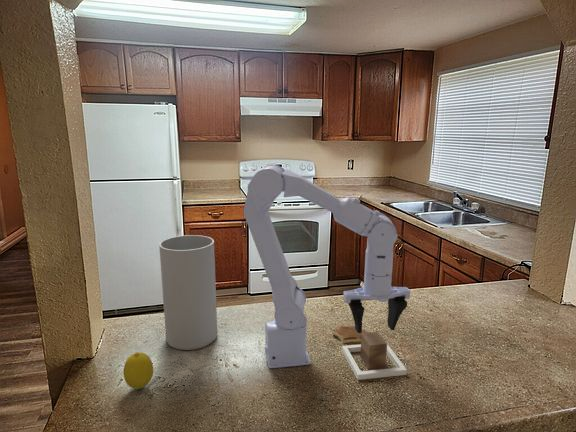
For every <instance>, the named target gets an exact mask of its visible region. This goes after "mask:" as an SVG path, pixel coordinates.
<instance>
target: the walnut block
mask: <svg viewBox="0 0 576 432" xmlns="http://www.w3.org/2000/svg"><path fill="white" fill-rule="evenodd" d="M360 344H361V351H359V352H360V353H359V354H360V355H359V357H360V359H361V361H362V362H363V364H364V366H365V367H366V368H367V371H370V370H380V369H386V365H387V354H386V353H387V344H388V343H387V342H386V340H385V339H384V338H383V337H382V335H381V334H380V332H378V331H375V332H374V331H373V332H369V333H362V334H361V342H360Z"/></svg>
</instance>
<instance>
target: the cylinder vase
mask: <svg viewBox="0 0 576 432" xmlns="http://www.w3.org/2000/svg"><path fill="white" fill-rule="evenodd" d="M158 247H159V257H160V258H159V259H160V271H161V272H160V273H161V275H160V276H161V288H162V301H163V315H164V326H165V327H164V329H165V340H166V342H167V344H168V345H169V346H170V347H171V348H174V349H176V350H181V351H192V350H197V349H202V348H204V347H206V346H208V345H210V344H211V343H213V342H214V340H216V338H217V336H218V316H217V315H218V314H217V290H216V289H217V288H216V287H217V286H216V264H215V263H216V262H215V260H216V259H215V240H214V239H213V238H212V237H210V236H205V235H199V234H196V235H195V234H194V235H193V234H190V235H189V234H186V235H179V236H178V235H177V236H173V237H169V238H166V239H164V240H162V241H160V242H159V245H158Z"/></svg>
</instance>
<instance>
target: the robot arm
mask: <svg viewBox="0 0 576 432" xmlns="http://www.w3.org/2000/svg"><path fill="white" fill-rule="evenodd" d="M281 193H283V198H292V197H300V198H302V199H304V200H307V201H308V202H310V203H312V204H314V205H316V206H319V207H320V208H322V209H324V210H326V211H329V212H330V213H332V214H333V219H334V221H335V222H336V223H337V224H339V225H342V226H343V227H346V228H347V229H349V230H350V231H353V232H354V233H356V234H358V235H360V236H363V237H367V238H366V240H367V241H366V249H365V257H364V259H365V260H364V274H363V275H364V279H363V287H358V288H355V289H351V290H344V291H343V297H342V299H343V301H344V304H347V305H348V307H349V309H350V311H351V314H352V318H353V321H354V322H353V323H354V327H355V329H356V331H357V332H358V333H361V332H362V330H363V319H364V318H363V317H364V312H365V307H364V306H363V301H364V302H365V301H378V302H380V303H384V302H385V303H386V302H387V305H388V306H387V307H388V309H387V328H389V329H390V330H391V331H395V329H396V326H397V324H398V321H399V319H400V317H401V315H402V313H403V312H404V311H405V309H406V308H407V307H408V301H407V300H409V299H411V290H410V289H409V288H408V287H407V286H392V282H393V281H392V278H393V266H394V265H393V264H394V245H395V243H396V242H397V240H398V237H399V234H397V233H398V232H397V228H396V227H395V225H394V224H393V222H392V220H391V219H390V218H389V217H388V216H386V214H385V213H381V212H380V211H379V210H377V209H375V210H373V209H371V208H369V207H367V206H366V205H363V204H362V203H361V200H360V199H359V198H357V197H353V198H351V197H349V196H348V197H344V198H339V197H337V196H335V195H333V194H332V193H330V192H328V191H327V190H325V189H323V188H322V187H320V186H318V185H317V184H315V183H314V182H312V181H310V180H309V179H306V178H305V177H304V176H301V174H300V175H299V174H297V173H296V172H294V171H292V170H289V169H284V167H282V166H280V165H279V164H267V165H266V166H264V167H263V168H262V169H259V170H258V171H257V172H255V174H254V175H253V176H252V178H251V180H250V181H249V183H248V185H247V192H246V198H245V202H244V208H243V215H244V218H245V221H246V223H247V226H248V230H249V231H250V234H251V237H252V239H253V242H254V246H255V247H256V250H257V252H258V255H259V257H260V260H261V263H262V265H263V268H264V271H265V274H266V275H267V276H266V277H267V279H268V281H269V284H270V287H271V293H272V303H273V305H274V319H273V320H271V321H267V322H265V325H264V327H265V328H264V329H265V330H264V331H265V333H264V334H265V336H264V337H265V344H264V353H265V355H266V360H267V361H266V362H267V367H268V368H269V369H275V368H276V369H277V368H287V367H297V366H298V367H299V366H307V365H311V364H312V361H311V359H310V357H309V354H308V350H307V333H308V331H307V328H308V327H307V326H308V324H307V323H308V319H307V317H306V315H305V314H304V313H305V305H306V303H307V296H306V294H305V291H304V290H303V289H302V288H300V286H299V285H298V283H297V280H296V279H295V278H294V277H293V275H292V273H291V270H290V268H289V265H288V262H287V259H286V257H285V254H284V251H283V249H282V246H281V243H280V240H279V237H278V236H277V233H276V229H275V227H274V224H273V222H272V218H271V216H270V214H269V212H270V209H271V208H272V206H273V204H274V202H275V200H276V199H277V198H278V197H279V196H280V195H281Z"/></svg>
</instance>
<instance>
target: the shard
mask: <svg viewBox="0 0 576 432" xmlns="http://www.w3.org/2000/svg"><path fill="white" fill-rule="evenodd" d="M362 333H370V332H369V331H366V330H364V329H362V332H361V333H358V332H357V331H356V329H355V325H351V324H341V325H339V326H338V327H337V328H335V329H333V330H332V331H331V335H333V336H335V337H337V338H338V339H339V340H340V342H341V343H342V344H347V343H348V344H349V343H361V334H362Z"/></svg>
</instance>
